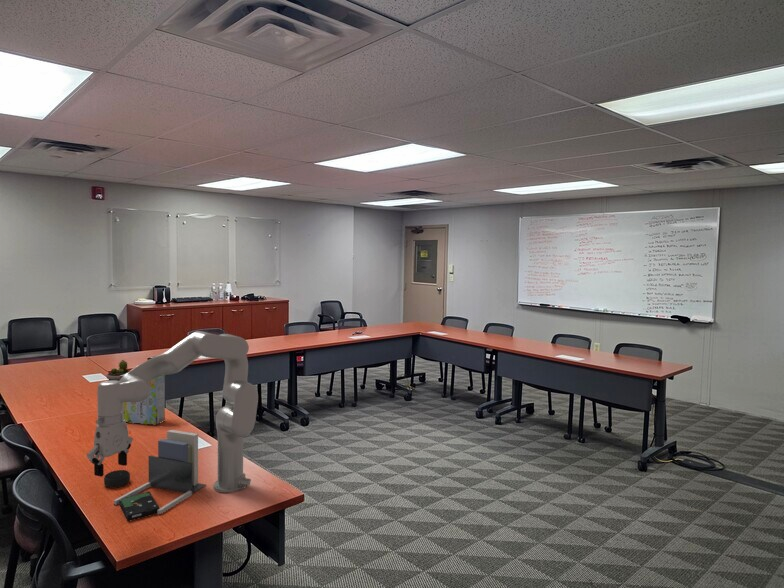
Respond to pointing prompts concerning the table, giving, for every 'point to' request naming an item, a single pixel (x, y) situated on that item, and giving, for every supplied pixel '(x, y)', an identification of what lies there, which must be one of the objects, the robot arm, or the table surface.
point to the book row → (181, 449)
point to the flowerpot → (118, 371)
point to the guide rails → (161, 507)
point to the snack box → (148, 405)
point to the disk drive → (138, 506)
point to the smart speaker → (116, 478)
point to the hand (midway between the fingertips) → (111, 470)
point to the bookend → (171, 475)
